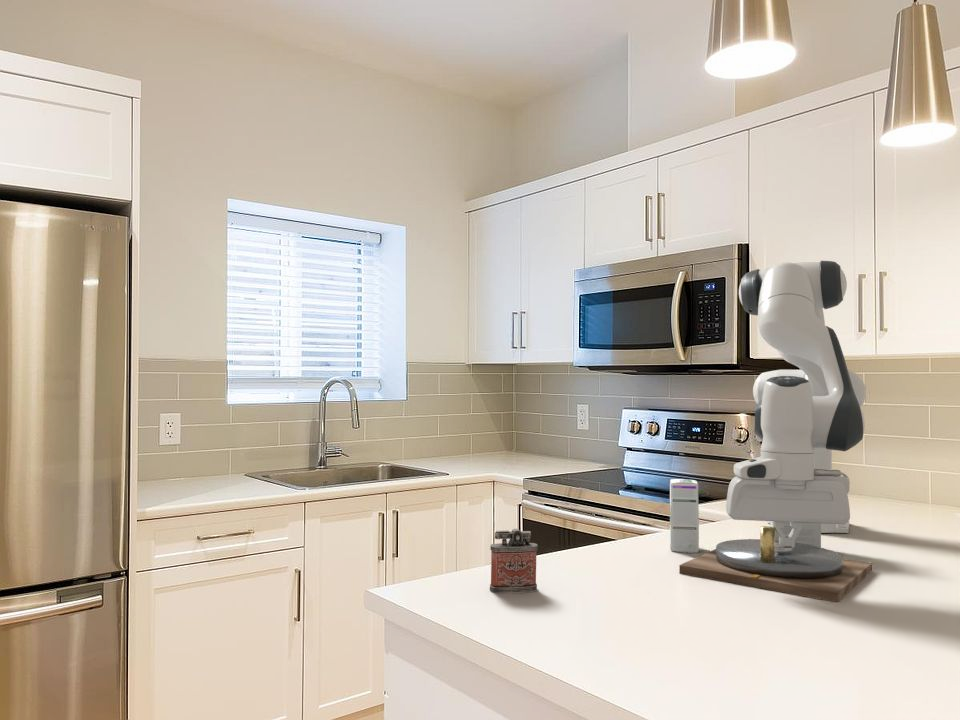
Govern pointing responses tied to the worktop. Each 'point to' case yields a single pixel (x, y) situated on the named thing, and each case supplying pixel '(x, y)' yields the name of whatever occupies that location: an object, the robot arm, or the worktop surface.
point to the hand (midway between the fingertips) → (786, 547)
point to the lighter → (513, 563)
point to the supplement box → (803, 533)
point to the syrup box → (684, 516)
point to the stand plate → (781, 578)
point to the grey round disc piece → (778, 557)
